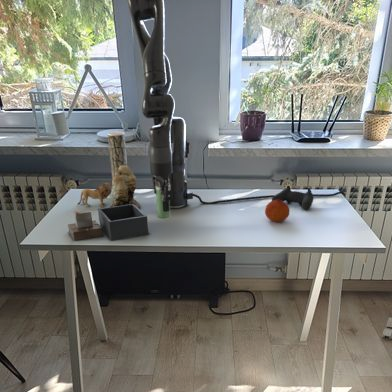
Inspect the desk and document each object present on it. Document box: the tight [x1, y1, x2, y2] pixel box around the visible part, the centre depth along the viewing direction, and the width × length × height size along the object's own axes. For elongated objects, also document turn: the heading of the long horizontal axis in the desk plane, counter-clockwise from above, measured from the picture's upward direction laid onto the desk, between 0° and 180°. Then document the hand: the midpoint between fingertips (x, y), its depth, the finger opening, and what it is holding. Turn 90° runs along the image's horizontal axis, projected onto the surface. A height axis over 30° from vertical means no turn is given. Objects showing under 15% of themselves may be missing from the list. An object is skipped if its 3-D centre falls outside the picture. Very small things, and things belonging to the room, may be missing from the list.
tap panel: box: [67, 219, 103, 241], centre depth 178 cm, size 10×10×3 cm
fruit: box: [264, 199, 290, 223], centre depth 187 cm, size 9×9×8 cm
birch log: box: [107, 130, 128, 181], centre depth 213 cm, size 7×7×25 cm
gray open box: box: [97, 204, 149, 241], centre depth 180 cm, size 14×16×7 cm
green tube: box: [156, 186, 171, 220], centre depth 177 cm, size 5×5×11 cm
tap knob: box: [73, 209, 93, 228], centre depth 176 cm, size 6×2×5 cm, turn 114°
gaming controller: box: [271, 184, 314, 211], centre depth 203 cm, size 17×6×10 cm
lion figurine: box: [77, 182, 113, 208], centre depth 204 cm, size 15×5×9 cm, turn 94°
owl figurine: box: [109, 165, 141, 209], centre depth 197 cm, size 18×12×17 cm, turn 176°
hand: (163, 208), depth 179 cm, fingers closed on green tube, 4 cm apart
